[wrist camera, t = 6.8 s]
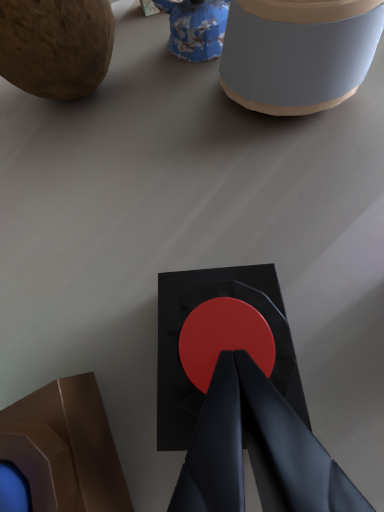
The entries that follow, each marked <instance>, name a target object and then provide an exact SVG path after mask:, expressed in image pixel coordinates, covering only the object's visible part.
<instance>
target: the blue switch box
mask: <svg viewBox="0 0 384 512" xmlns="http://www.w3.org/2000/svg"><path fill="white" fill-rule="evenodd" d="M0 463H5V464H10V465H12V466H14V467H16V468H17V469H18V470H20V471H21V472H22V474H23V475H24V477H25V478H26V480H27V482H28V485H29V488H30V492H31V498H32V512H134V510H133V507H132V503H131V500H130V496H129V493H128V490H127V486H126V483H125V479H124V476H123V472H122V469H121V466H120V462H119V459H118V455H117V452H116V448H115V445H114V442H113V438H112V435H111V431H110V428H109V424H108V421H107V418H106V414H105V411H104V407H103V404H102V400H101V397H100V394H99V390H98V387H97V383H96V380H95V376H94V373H93V372H89V373H84V374H79V375H74V376H69V377H64V378H60V379H56V380H54V381H53V382H51V383H49V384H47V385H46V386H44V387H42V388H40V389H38V390H37V391H35V392H33V393H31V394H30V395H28V396H26V397H24V398H22V399H21V400H19V401H17V402H15V403H14V404H12V405H10V406H8V407H6V408H5V409H3V410H1V411H0Z"/></svg>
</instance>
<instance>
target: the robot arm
mask: <svg viewBox="0 0 384 512" xmlns="http://www.w3.org/2000/svg"><path fill="white" fill-rule="evenodd" d="M241 424H242V425H241ZM242 428H243V433H244V437H245V441H246V445H247V449H248V453H249V457H250V461H251V465H252V469H253V473H254V477H255V481H256V485H257V489H258V493H259V497H260V501H261V505H262V509H263V512H376V510H375V509H374V508H373V507H372V506H371V504H370V503H369V502H368V501H367V500H366V498H365V497H364V496H363V495H362V494H361V492H360V491H359V490H358V489H357V488H356V486H355V485H354V484H353V483H352V482H351V480H350V479H349V478H348V477H347V475H346V474H345V473H344V472H343V470H342V469H341V468H340V467H339V465H338V464H337V463H336V462H335V461H334V460H333V459H331V456H330V454H329V453H328V452H327V451H326V449H325V448H324V447H323V446H322V445H321V443H320V442H319V441H318V440H317V438H316V437H315V436H314V435H313V433H312V432H311V431H310V430H309V428H308V427H307V426H306V425H305V423H304V422H303V421H302V420H301V418H300V417H299V416H298V415H297V413H296V412H295V411H294V410H293V408H292V407H291V406H290V405H289V403H288V402H287V401H286V400H285V398H284V397H283V396H282V395H281V393H280V392H279V391H278V390H277V388H276V387H275V386H274V385H273V383H272V382H271V381H270V380H269V378H268V377H267V376H266V375H265V373H264V372H263V371H262V370H261V368H260V367H259V366H258V365H257V363H256V362H255V361H254V360H253V358H252V357H251V356H250V355H249V353H248V352H247V351H246V350H245V349H235V350H233V351H232V350H221V351H220V353H219V356H218V359H217V362H216V365H215V368H214V371H213V374H212V377H211V381H210V384H209V387H208V390H207V393H206V396H205V399H204V402H203V405H202V408H201V411H200V414H199V417H198V420H197V423H196V427H195V430H194V433H193V436H192V439H191V442H190V445H189V448H188V451H187V454H186V457H185V463H183V466H182V469H181V472H180V475H179V478H178V481H177V484H176V487H175V490H174V492H173V495H172V498H171V501H170V504H169V506H168V509H167V512H245V496H244V472H243V448H242Z"/></svg>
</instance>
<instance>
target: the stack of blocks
mask: <svg viewBox="0 0 384 512" xmlns="http://www.w3.org/2000/svg"><path fill="white" fill-rule="evenodd" d="M171 1H175V2H182V1H183V0H171ZM140 4H141V7H142V9H143V11H144V13H145V16H149V15H153V14H156V13H159V12H161V11H160V10H158V9H157V8H156V7H155V5H154V3H153V2H152V0H140Z"/></svg>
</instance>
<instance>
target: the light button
mask: <svg viewBox="0 0 384 512" xmlns="http://www.w3.org/2000/svg"><path fill="white" fill-rule="evenodd" d="M235 349H245V350H246V351H247V352H248V353H249V355H250V356H251V357H252V358H253V360H254V361H255V362H256V363H257V365H258V366H259V367H260V368H261V370H262V371H263V372H264V373H265V375H266V376H267V377H268V378H269V377H270V374H271V372H272V370H273V366H274V361H275V344H274V339H273V335H272V332H271V330H270V328H269V326H268V324H267V322H266V321H265V319H264V318H263V317H262V315H261V314H260V313H259V312H258V311H257V310H256V309H255V308H253V307H252V306H250V305H249V304H247V303H245V302H243V301H241V300H238V299H234V298H228V297H220V298H214V299H210V300H208V301H205V302H203V303H202V304H200V305H198V306H197V307H196V308H195V309H194V310H193V311H192V312H191V313H190V314H189V315H188V317H187V318H186V320H185V322H184V324H183V326H182V329H181V332H180V337H179V356H180V360H181V364H182V366H183V369H184V371H185V373H186V375H187V376H188V378H189V379H190V381H191V382H192V383H193V384H194V385H195V386H196V387H197V388H198V389H199V390H200V391H202V392H203V393H204V394H206V393H207V390H208V387H209V384H210V381H211V377H212V374H213V371H214V368H215V365H216V362H217V359H218V356H219V353H220V351H221V350H232V351H233V350H235Z"/></svg>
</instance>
